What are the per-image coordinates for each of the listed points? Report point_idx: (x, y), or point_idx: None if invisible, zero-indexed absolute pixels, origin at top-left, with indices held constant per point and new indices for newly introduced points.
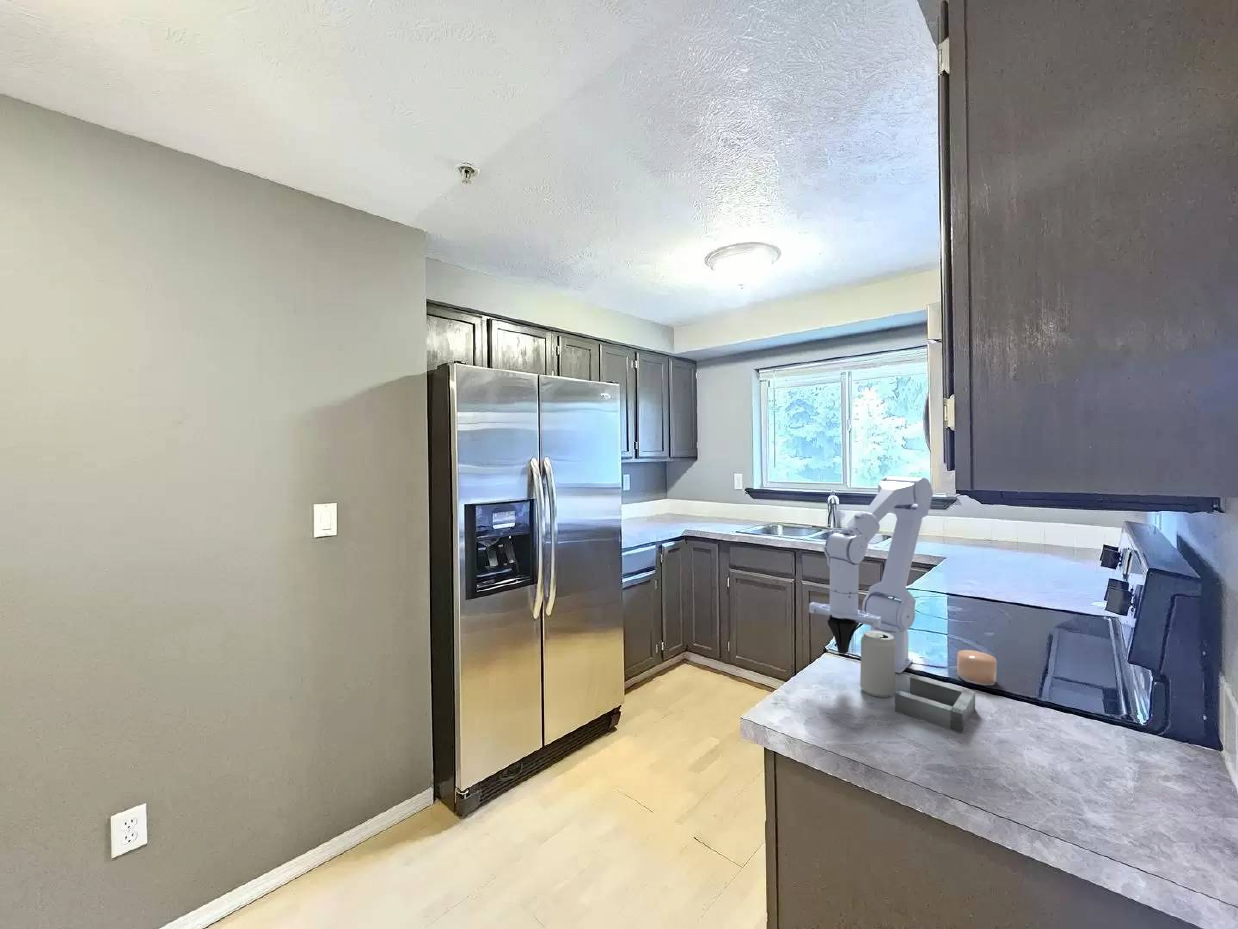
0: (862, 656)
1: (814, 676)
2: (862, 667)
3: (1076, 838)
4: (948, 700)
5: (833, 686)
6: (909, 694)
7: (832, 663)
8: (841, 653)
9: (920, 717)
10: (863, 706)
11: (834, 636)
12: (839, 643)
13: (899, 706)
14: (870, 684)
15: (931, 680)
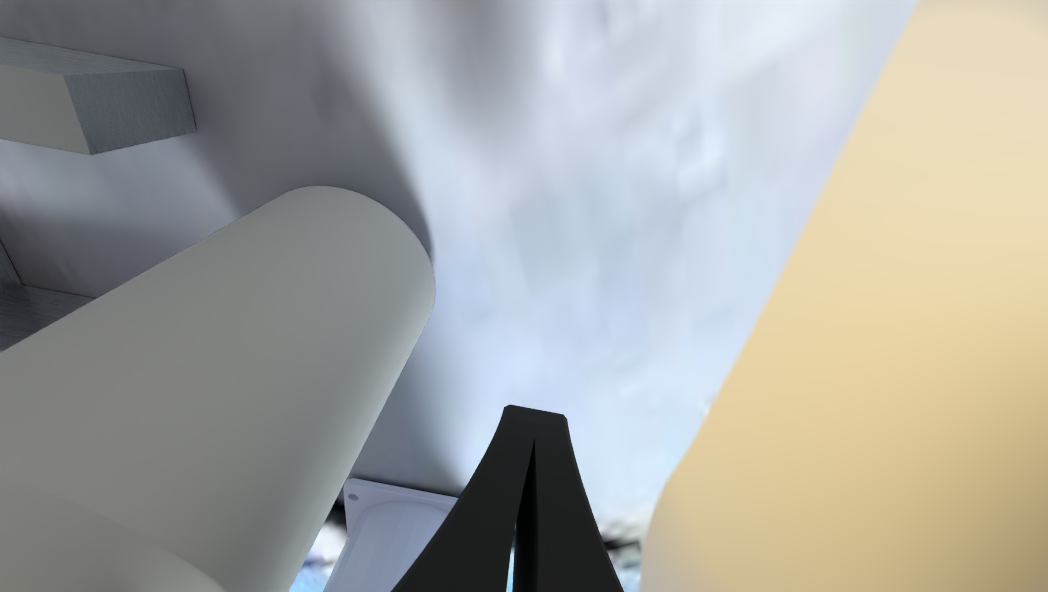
0: (295, 366)
1: (715, 287)
2: (347, 300)
3: None
4: (48, 307)
5: (584, 211)
6: (3, 126)
7: (633, 465)
8: (535, 410)
9: (24, 44)
10: (344, 14)
11: (611, 580)
12: (543, 490)
13: (120, 67)
14: (320, 209)
15: None
